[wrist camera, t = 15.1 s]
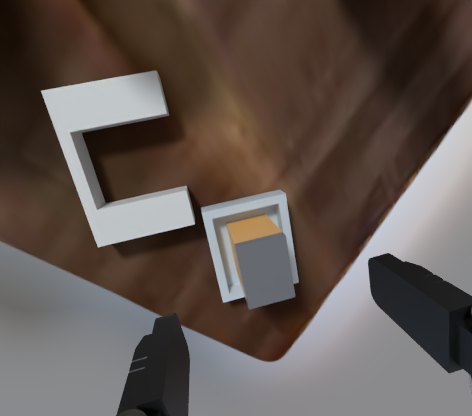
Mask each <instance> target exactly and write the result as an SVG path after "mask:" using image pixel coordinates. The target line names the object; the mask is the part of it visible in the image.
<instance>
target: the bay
mask: <svg viewBox="0 0 472 416" xmlns="http://www.w3.org/2000/svg"><path fill="white" fill-rule="evenodd" d="M41 93H42V95H43V98H44V101H45V104H46V106H47V109H48V112H49V115H50V117H51V120H52V123H53V126H54V128H55V131H56V134H57V136H58V139H59V142H60V145H61V147H62V150H63V153H64V156H65V158H66V161H67V164H68V167H69V169H70V172H71V175H72V178H73V180H74V183H75V186H76V189H77V191H78V194H79V197H80V200H81V202H82V205H83V208H84V210H85V213H86V216H87V219H88V221H89V224H90V227H91V230H92V232H93V235H94V238H95V241H96V243H97V246H98V247H101V246H105V245H110V244H114V243H118V242H122V241H127V240H131V239H135V238H139V237H144V236H148V235H152V234H156V233H161V232H165V231H169V230H173V229H178V228H182V227H186V226H190V225H195V216H194V212H193V208H192V204H191V200H190V196H189V192H188V188H187V186H183V187H178V188H174V189H169V190H165V191H160V192H155V193H151V194H146V195H142V196H137V197H133V198H128V199H124V200H119V201H115V202H110V203H105V200H104V197H103V194H102V191H101V188H100V185H99V182H98V179H97V176H96V173H95V171H94V168H93V165H92V162H91V159H90V156H89V153H88V150H87V147H86V144H85V141H84V138H83V135H82V133H84V132H89V131H94V130H99V129H104V128H109V127H115V126H120V125H125V124H130V123H135V122H140V121H146V120H151V119H156V118H161V117H166V116H169V112H168V107H167V103H166V99H165V95H164V91H163V87H162V83H161V79H160V76H159V74H158V73H157V71H150V72H144V73H139V74H133V75H127V76H122V77H116V78H110V79H105V80H99V81H93V82H88V83H82V84H76V85H71V86H65V87H59V88H54V89H48V90H42V91H41Z"/></svg>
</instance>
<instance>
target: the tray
mask: <svg viewBox="0 0 472 416" xmlns="http://www.w3.org/2000/svg"><path fill="white" fill-rule="evenodd" d="M201 212H202V217H203V221H204V225H205V229H206V233H207V237H208V241H209V246H210V250H211V254H212V258H213V262H214V266H215V270H216V275H217V279H218V283H219V287H220V291H221V295H222V300H223V303H224V302H228V301H231V300H235V299H239V298H243V297H245V296H244V293H243V290H242V287H241V284H240V281H239V278H238V275H237V271H236V266H235V262H234V257H233V253H232V248H231V244H230V239H229V234H228V230H227V225H226V223H227V222H232V221H236V220H240V219H244V218H248V217H253V216H257V215H261V214H266V215H267V216H268V217H269V218H270V220H271V221H272V222H273V223H274V224H275V225H276V226H277V227H278V228H279V229H280V230H281V231H282V232H283V233H284V234H285V235H286V240H287V246H288V253H289V259H290V266H291V272H292V278H293V284H295V283H299V281H298V274H297V267H296V260H295V254H294V247H293V240H292V233H291V227H290V220H289V213H288V206H287V200H286V193H284V192H282V191H281V190H275V191H271V192H266V193H262V194H258V195H253V196H249V197H245V198H240V199H236V200H231V201H227V202H223V203H218V204H214V205H210V206H205V207H201Z"/></svg>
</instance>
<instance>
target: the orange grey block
mask: <svg viewBox="0 0 472 416" xmlns="http://www.w3.org/2000/svg"><path fill="white" fill-rule="evenodd" d="M226 225H227V230H228V234H229V239H230V244H231V248H232V253H233V257H234V262H235V266H236V271H237V275H238V278H239V281H240V284H241V287H242V290H243V293H244V296H245V299H246V302H247V305H248V308H249V309H253V308H257V307H260V306H264V305H268V304H271V303H275V302H279V301H282V300H286V299H290V298H293V297H295V291H294V285H293V278H292V272H291V266H290V259H289V253H288V246H287V240H286V235H285V234H284V233H283V232H282V231H281V230H280V229H279V228H278V227H277V226H276V225H275V224H274V223H273V222H272V221H271V220H270V218H269V217H268V216H267V215H266V214H261V215H257V216H253V217H248V218H244V219H240V220H236V221H232V222H227V223H226Z"/></svg>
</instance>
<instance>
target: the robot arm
mask: <svg viewBox="0 0 472 416" xmlns="http://www.w3.org/2000/svg"><path fill="white" fill-rule="evenodd" d="M368 266H369V278H370V288H371V294H372V297H373V299H374V301H375V302H376V304H377V305H378V306H379V307H380V308H381V309H382V310H383V311H384V312H385V313H386V314H387V315H388V316H389V317H390V318H391V319H392V320H393V321H394V322H395V323H397V324H398V325H399V326H400V327H401V328H402V329H403V330H404V331H405V332H406V333H407V334H408V335H409V336H410V337H411V338H412V339H413V340H414V341H416V343H418V344H419V345H420V346H421V347H422V348H423V349H424V350H425V351H426V352H427V353H428V354H429V355H430V356H431V357H432V358H433V359H434V360H436V362H437V363H439V364H440V365H441V366H442V367H443V368H444V369H445V370H446V371H447V372H448V373H452V372H455V371H458V370H461V369H464V370H465V371H466V372H468V373H469V384H470V388H471V393H472V296H471V295H469V294H467V293H465V292H464V291H462V290H460V289H459V288H457V287H455V286H454V285H452V284H450V283H449V282H447V281H443V279H442V278H440V277H438V276H437V275H433V273H432V272H430V271H428V270H427V269H425V268H423V267H422V266H419V265H416V264H412V263H409V262H403V261H401V260H399V259H398V258H396V257H394V256H393V255H391V254H389V253H387V254H383V255H380V256H376V257H373V258H370V259H369V261H368ZM189 371H190V358H189V350H188V346H187V342H186V339H185V337H184V334H183V331H182V328H181V325H180V322H179V319H178V317H177V315H176V313H173V314H170V315H166V316H163V317H159V318H156V320H155V323H154V328H153V332H152V334H150V335H146V336H144V337H143V338H142V340H141V341H140V343H139V344H138V345H137V347H136V349H135V352H134V356H133V360H132V363H131V367H130V370H129V372H130V373H129V374H128V377H127V381H126V384H125V388H124V391H123V395H122V398H121V401H120V405H119V408H118V412H117V415H116V416H188V403H189V401H188V400H189Z"/></svg>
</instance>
